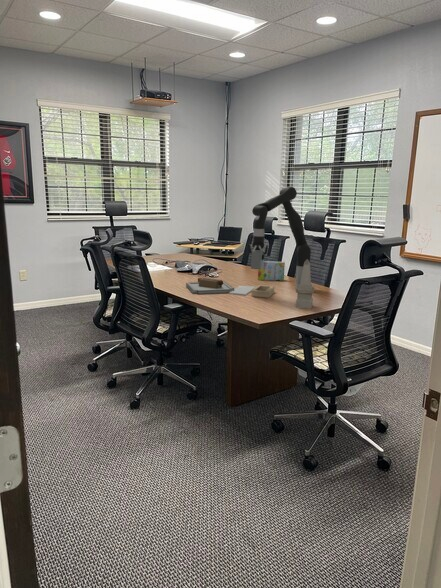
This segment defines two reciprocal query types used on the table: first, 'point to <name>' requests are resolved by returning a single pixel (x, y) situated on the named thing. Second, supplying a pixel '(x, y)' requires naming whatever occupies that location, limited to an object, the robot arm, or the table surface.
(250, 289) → the mat
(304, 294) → the miniature monument
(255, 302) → the table surface
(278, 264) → the snack box
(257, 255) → the box
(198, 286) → the gray tray
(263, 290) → the carton
